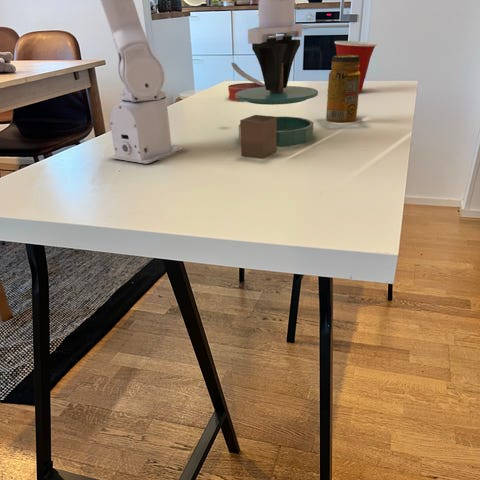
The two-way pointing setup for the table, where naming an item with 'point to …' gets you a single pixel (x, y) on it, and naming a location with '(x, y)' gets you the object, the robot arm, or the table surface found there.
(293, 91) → the lid
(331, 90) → the condiment
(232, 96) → the canned food
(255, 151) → the block
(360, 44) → the plastic cup
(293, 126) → the tin
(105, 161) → the table surface
